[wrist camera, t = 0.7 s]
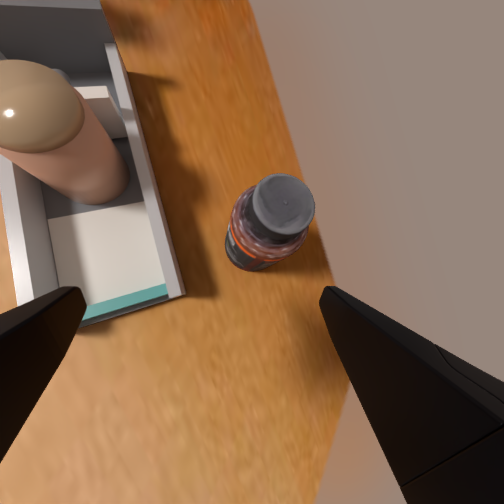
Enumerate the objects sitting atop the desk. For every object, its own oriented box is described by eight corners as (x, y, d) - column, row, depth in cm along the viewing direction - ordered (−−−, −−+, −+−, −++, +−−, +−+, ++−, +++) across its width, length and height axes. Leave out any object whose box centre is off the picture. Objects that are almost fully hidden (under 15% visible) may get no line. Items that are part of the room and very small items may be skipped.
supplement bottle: (284, 244, 23) (348, 203, 12) (253, 283, 22) (296, 274, 11) (246, 211, 23) (278, 140, 12) (212, 248, 21) (214, 202, 11)
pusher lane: (186, 294, 20) (176, 295, 14) (60, 333, 17) (-17, 355, 11) (126, 70, 24) (99, -1, 18) (14, 73, 21) (-61, -10, 15)
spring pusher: (129, 136, 21) (109, 97, 17) (35, 146, 19) (-16, 104, 14) (119, 96, 21) (96, 48, 17) (27, 101, 19) (-25, 48, 15)
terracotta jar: (136, 197, 20) (89, 139, 12) (61, 211, 18) (-48, 153, 11) (122, 142, 21) (70, 55, 13) (49, 150, 19) (-59, 56, 12)
